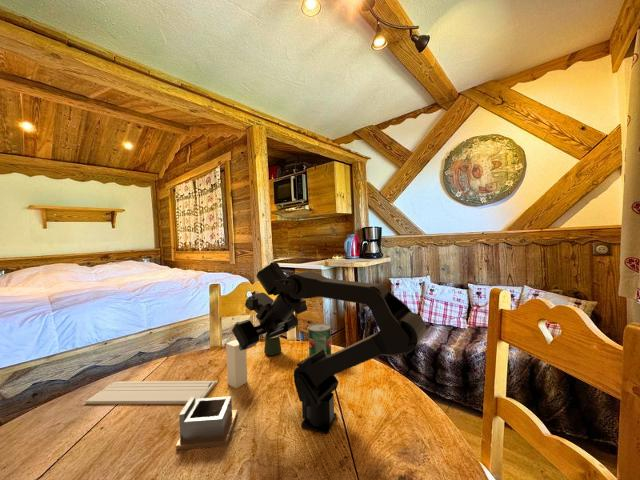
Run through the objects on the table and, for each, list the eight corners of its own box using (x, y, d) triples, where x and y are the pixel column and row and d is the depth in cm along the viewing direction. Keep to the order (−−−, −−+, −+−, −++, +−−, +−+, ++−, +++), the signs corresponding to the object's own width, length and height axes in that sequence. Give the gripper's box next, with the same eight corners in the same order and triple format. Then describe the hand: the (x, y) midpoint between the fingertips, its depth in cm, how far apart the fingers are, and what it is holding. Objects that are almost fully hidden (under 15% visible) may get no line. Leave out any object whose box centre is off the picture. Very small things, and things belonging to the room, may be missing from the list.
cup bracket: (237, 413, 65) (236, 389, 65) (226, 445, 55) (225, 416, 55) (194, 417, 64) (193, 392, 64) (176, 450, 55) (175, 420, 54)
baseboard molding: (120, 381, 83) (85, 406, 71) (120, 372, 83) (84, 396, 71) (220, 381, 82) (201, 406, 70) (219, 371, 82) (200, 395, 70)
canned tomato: (304, 356, 95) (304, 325, 95) (323, 351, 100) (322, 321, 99) (316, 365, 89) (315, 332, 88) (336, 359, 93) (335, 327, 93)
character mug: (289, 349, 102) (288, 315, 102) (285, 357, 95) (284, 321, 95) (261, 348, 103) (260, 315, 103) (255, 357, 96) (254, 321, 96)
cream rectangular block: (247, 382, 80) (246, 341, 79) (235, 388, 76) (234, 346, 76) (238, 378, 82) (237, 339, 82) (227, 384, 79) (226, 343, 79)
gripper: (289, 279, 78) (264, 311, 85) (235, 290, 63) (210, 328, 70) (311, 310, 74) (283, 341, 81) (259, 330, 59) (229, 366, 66)
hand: (253, 343), depth 74 cm, fingers open, 9 cm apart
